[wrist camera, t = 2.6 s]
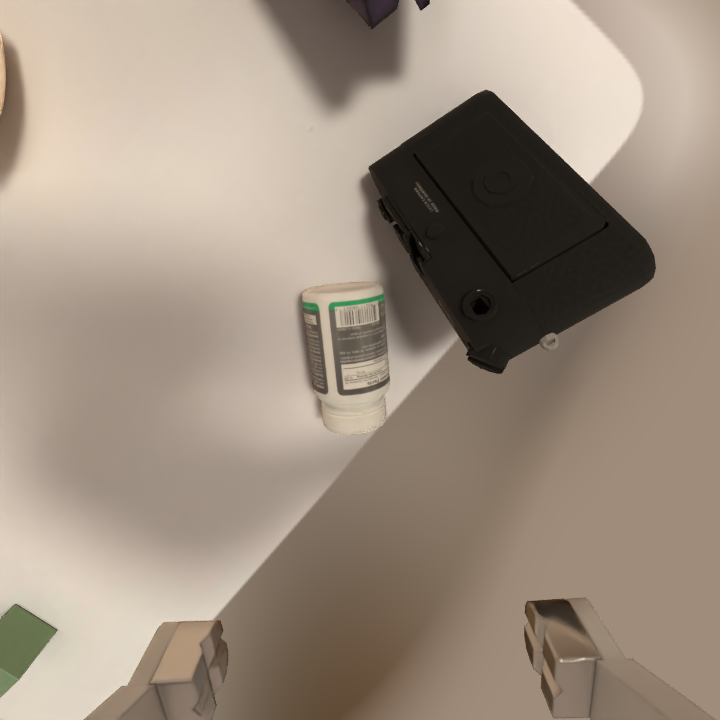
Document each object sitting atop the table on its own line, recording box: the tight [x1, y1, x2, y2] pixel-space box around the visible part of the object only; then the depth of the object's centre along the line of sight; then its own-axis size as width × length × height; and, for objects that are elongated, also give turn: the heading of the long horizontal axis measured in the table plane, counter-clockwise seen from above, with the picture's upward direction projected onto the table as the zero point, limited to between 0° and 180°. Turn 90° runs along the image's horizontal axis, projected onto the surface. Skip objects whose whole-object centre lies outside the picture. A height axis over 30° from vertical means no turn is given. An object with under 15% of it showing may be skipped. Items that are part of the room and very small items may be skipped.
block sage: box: [0, 605, 57, 697], centre depth 32 cm, size 4×4×4 cm
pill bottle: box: [302, 282, 390, 435], centre depth 24 cm, size 5×5×8 cm
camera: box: [369, 90, 656, 374], centre depth 21 cm, size 14×7×8 cm
